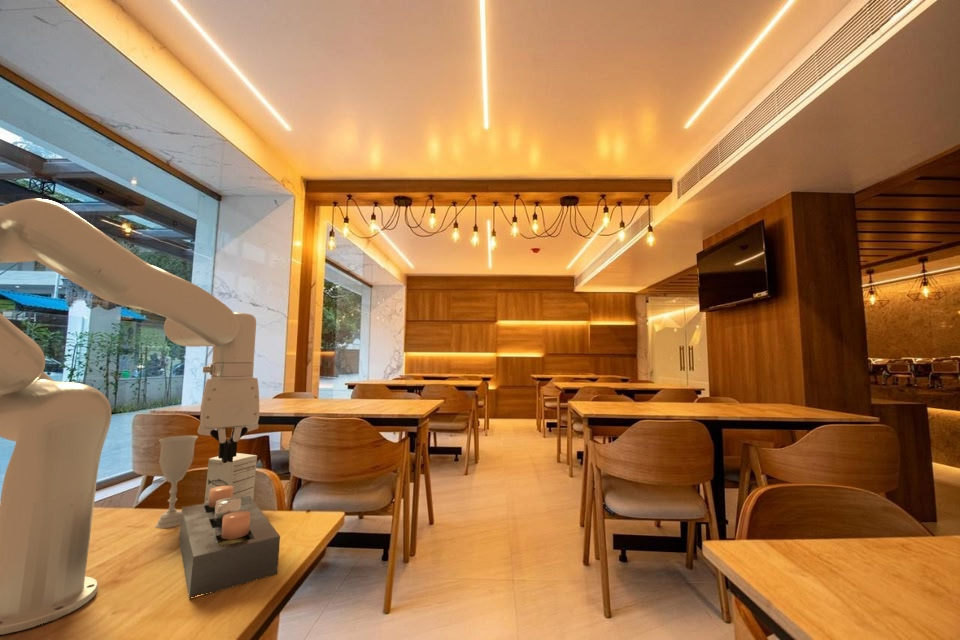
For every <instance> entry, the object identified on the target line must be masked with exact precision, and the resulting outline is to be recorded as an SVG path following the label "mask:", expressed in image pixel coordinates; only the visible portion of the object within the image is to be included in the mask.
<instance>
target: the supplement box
mask: <svg viewBox="0 0 960 640" xmlns="http://www.w3.org/2000/svg"><path fill="white" fill-rule="evenodd" d="M257 460H258V455H256V454H248V453H240V452H237V453H236V456H235V457H233V462H227V463H223V462H222V458H220V459H219V458H218V455H217V456H214V457H211V458H208V465H207V473H206V475H207V476H206V484H205V485H206V486H205V492H204V494H205V495H204V503H209V495H210V489H212V488H215V487H219V486H233V497H238V498H240V497H246V496H251V498H252V499H253V500H254V496H255V495H254V494H255V485H256V474H257ZM204 503H203V504H204Z"/></svg>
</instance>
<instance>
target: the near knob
mask: <svg viewBox="0 0 960 640" xmlns="http://www.w3.org/2000/svg"><path fill="white" fill-rule="evenodd" d="M250 514H251V513H250V512H248V511H237V512H232V513H229V514H226V515H224V516H223V521H222V533H221V538H223V539H227V540H235V539H239V538H242V537H245V536H248V535H247V534H248V533H249V527H250Z"/></svg>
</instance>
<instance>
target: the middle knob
mask: <svg viewBox="0 0 960 640" xmlns="http://www.w3.org/2000/svg"><path fill="white" fill-rule="evenodd" d="M240 507H241V498H238V497H230V498H224V499H220V500H218V501H216V505H215V517H214V521H216V522H222V521H223V516H224V515H226V514H229V513H232V512H237V511H240Z"/></svg>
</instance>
